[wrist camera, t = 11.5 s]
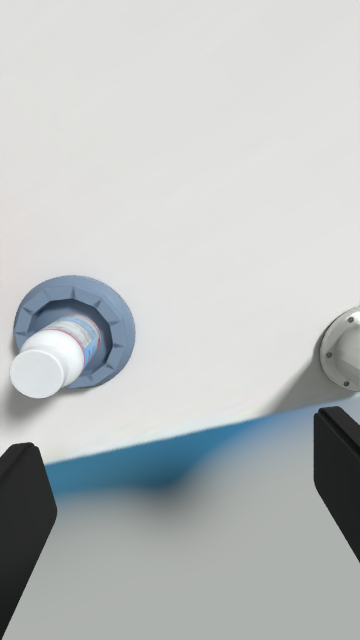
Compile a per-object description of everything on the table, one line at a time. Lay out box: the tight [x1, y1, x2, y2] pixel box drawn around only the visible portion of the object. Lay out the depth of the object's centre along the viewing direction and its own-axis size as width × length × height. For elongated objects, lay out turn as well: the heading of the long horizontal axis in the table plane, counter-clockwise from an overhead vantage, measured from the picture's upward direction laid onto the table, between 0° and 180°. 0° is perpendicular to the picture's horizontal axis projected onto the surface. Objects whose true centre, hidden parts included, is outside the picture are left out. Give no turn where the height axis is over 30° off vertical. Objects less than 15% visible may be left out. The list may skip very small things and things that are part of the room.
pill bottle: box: [9, 314, 101, 398], centre depth 28 cm, size 6×6×11 cm
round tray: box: [14, 275, 135, 389], centre depth 33 cm, size 15×15×3 cm
